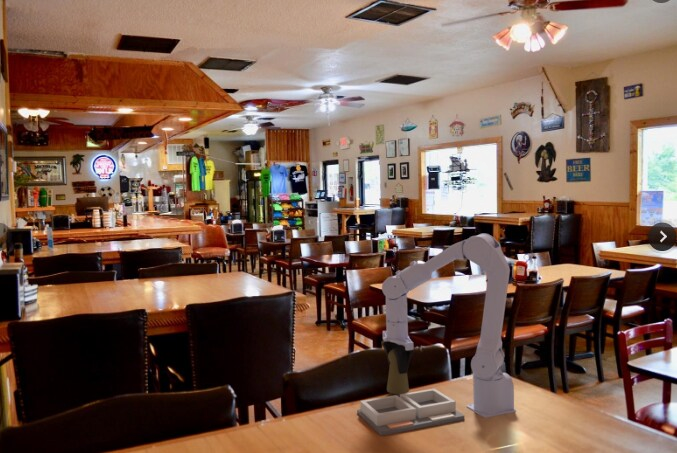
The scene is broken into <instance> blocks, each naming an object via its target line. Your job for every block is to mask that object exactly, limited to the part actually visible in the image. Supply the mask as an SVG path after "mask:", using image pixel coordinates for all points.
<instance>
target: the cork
mask: <svg viewBox="0 0 677 453" xmlns="http://www.w3.org/2000/svg"><path fill="white" fill-rule="evenodd" d="M388 358H389V361H390V367H389V369H388V378H387V384H386V391H387V393H390V394H391V395H392V394H393V395H400V394H405V393H410V387H409V379H408V372H407V373H404V374H399V371H398V366H397V359H396V356H395V353H394V351H393V350H391V351H390V352H389V354H388Z"/></svg>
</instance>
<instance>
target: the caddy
mask: <svg viewBox="0 0 677 453" xmlns="http://www.w3.org/2000/svg"><path fill="white" fill-rule="evenodd" d="M359 402H360V404H359V406H360V409H357V410H356V414H357V413H358V414H359V415H358V414H357V415H358V416H359V417H360V418H361V419H363V421H365V422H366V423H367V424H368V425H369V426H370V427H371V428H372V429H373V430H374V431H375V432H376V433H377V434H379V435H380V436H381V437H382V436H387V435H393V434H398V433H402V432H403V433H404V432H408V431H414V430H419V429H425V428H429V427H434V426H438V425H444V424H449V423H455V422H460V421H464V420H465V415H464V414H462V412H460V411H458V410H457V409H456V408H457V404H456V400H454V399H452V398H451V397H449V396H447V395H446V394H444V393H442V392H441V391H439V390H438V389H436V388H429V389H424V390H418V391H412V392H408V393H405V394H399V395H398V394H393V395H387V396H382V397H377V398H372V399H371V398H370V399H365V400H359Z"/></svg>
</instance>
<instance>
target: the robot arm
mask: <svg viewBox="0 0 677 453" xmlns="http://www.w3.org/2000/svg"><path fill="white" fill-rule="evenodd" d="M455 260H461V261H464V260H469V261H470V262H472V263H474V264H475V265H476V266H477V265H478V266H479V267H480V268H481V270H483V271H484V273H485V274H486V275H487V281H486V282H487V283H486V290H485V296H484V297H485V298H484V306H483V315H482V322H481V328H480V329H481V330H480V337H479V341H478V344H477V347H476V351H475V354H474V355H473V357H472V359H471V362H470V368H471V372H472V374H473V375H472V378H473V379H472V381H473V382H472V386H473V387H472V388H473V390H472V391H473V394H472V395H473V403H470V404H467V405H466V408H468V409H469V410H471V411H472V412H474V413H476V414H477V415H478V416H481V417H482V418H485V419H487V418H491V417H496V416H497V417H498V416H501V415H502V416H503V415H507V414H512V413H516V412H517V409H515V387H514V382H513V379H512V377H511V376H510V374H508V373H507V372H503V370H502V369H501V366H503V364H504V361H505V355H504V352H503V341H502V333H503V325H504V317H505V311H506V310H505V309H506V305H507V304H506V303H507V302H506V301H507V297H508V296H507V294H508V288H509V281H510V280H509V279H510V272H511V270H510V266H509V263H508V260H507V259H506V256H505V254H504V252H503V250H502V246H501V243H500V242H499V241H497V239H496V238H494V236H492V235H490V234H489V233H480V234H478V235H472V236H469V238H467V239H464V240H461V241H459V242H456V243H454V244H451V245H450V246H449V247H447V248H446V249H444V250H442V251H441V252H439V253H438V254H437V255H434V256H433V257H432V258H429V260H426V262H425V261H423V260H417V261H416V260H414V261H413V260H412V261H410V262H409V266H407V267H405V268H404V269H402V270H397V271H396V272H395V275H393V276H388V277H387V278H386V279H385V280H384V281H383V282H382V285H381V290H382V293H383V295H384V296H385V325H386V326H385V327H386V328H385V329H386V330H382V341H381V343H380V345H381V346H382V347H383V350H384V352H385V354H386V358H387V362H388V367H389V368H390V361H389V358H388V354H389V352H390V351H391V350H393V351H394V353H395V356H396V359H397V366H398V371H399V374H404V373H407V374H408V369H409V366H410V361H411V359H412V356H413V354H414V352H415V351H416V350H415V349H416V348H415V347H414V342H413V341H412V339H411V338H410V336H409V325H408V320H409V319H408V294H409V292H411V291H413V290H415V289H416V288H418V287H419V286H421V285H423V284H425V283H426V282H428V281H430V280H431V278H432V274H433V272H435V271H437V270H440V269H441V268H443V267H444V266H446V265H448V264H450V263H452V262H454V261H455Z"/></svg>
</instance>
